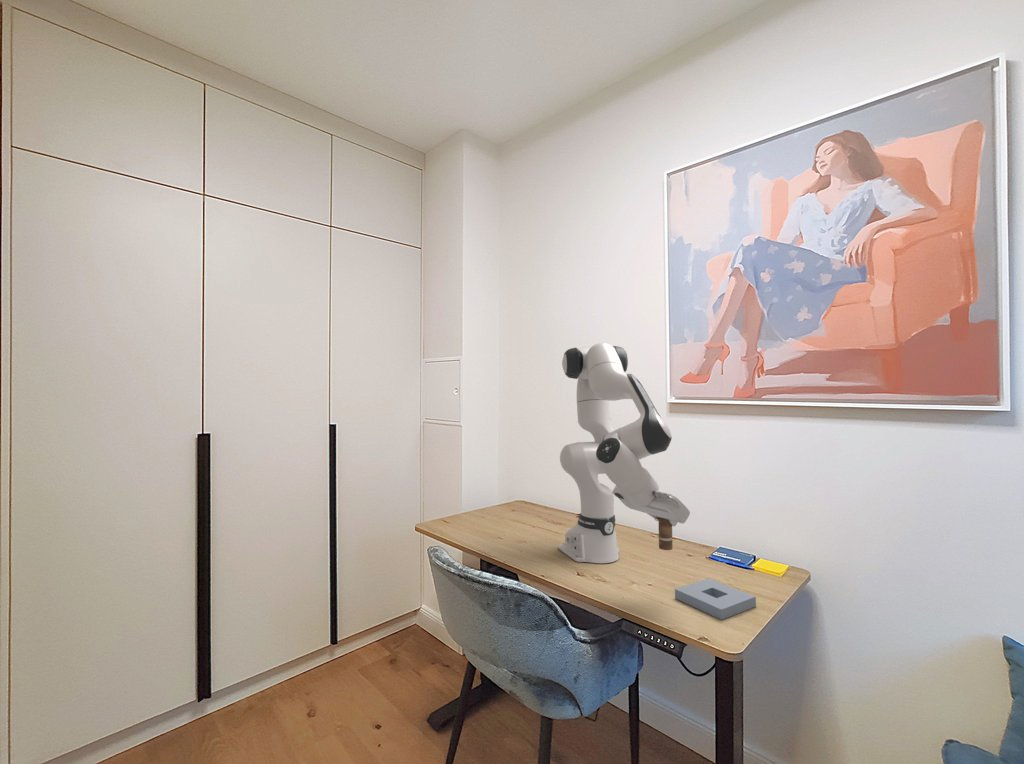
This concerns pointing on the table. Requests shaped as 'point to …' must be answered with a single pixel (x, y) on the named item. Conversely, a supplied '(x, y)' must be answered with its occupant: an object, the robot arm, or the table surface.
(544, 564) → the table surface
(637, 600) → the table surface
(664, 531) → the peg
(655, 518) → the robot arm
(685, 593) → the socket board
